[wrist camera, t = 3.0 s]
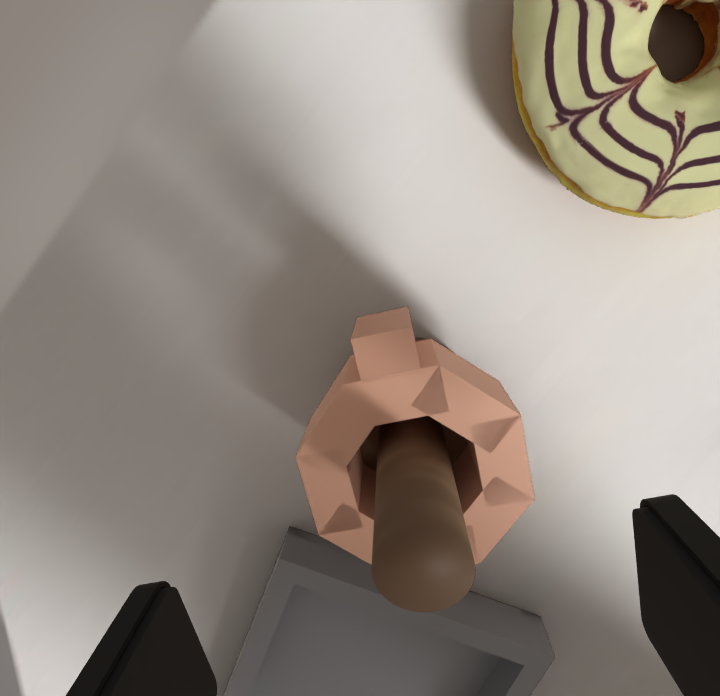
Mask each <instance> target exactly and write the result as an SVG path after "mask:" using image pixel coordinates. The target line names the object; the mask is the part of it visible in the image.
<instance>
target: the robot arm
mask: <svg viewBox="0 0 720 696" xmlns="http://www.w3.org/2000/svg"><path fill="white" fill-rule="evenodd" d="M632 517H633V528H634V539H635V551H636V562H637V573H638V585H639V596H640V607H641V617H642V622H643V626H644V628H645V631H646V633H647V636H648V638H649V639H650V641H651V643H652V644H653V646H654V648H655V649H656V651H657V653H658V654H659V656H660V658H661V659H662V661H663V662H664V664H665V666H666V667H667V669H668V671H669V672H670V674H671V675H672V677H673V679H674V680H675V682H676V684H677V685H678V687H679V689H680V690H681V692H682V693H683V695H684V696H720V537H719V536H718V535H717V534H716V533H715V532H714V531H713V530H712V529H711V528H710V527H709V526H708V525H707V524H706V523H705V522H704V521H703V520H702V519H701V518H700V517H699V516H698V515H697V514H695V513H694V512H693V511H692V510H691V509H690V508H689V507H688V506H687V505H686V504H685V503H684V502H683V501H682V500H681V499H680V498H679V497H678V496H677V495H673V494H671V495H666V496H660V497H654V498H648V499H643V500H641V503H640V508H638V509H634V510H633V512H632ZM216 694H217V683H216V679H215V676H214V674H213V672H212V669H211V667H210V665H209V662H208V660H207V658H206V655H205V653H204V651H203V648H202V646H201V643H200V641H199V639H198V636H197V634H196V632H195V629H194V627H193V625H192V622H191V620H190V618H189V615H188V613H187V611H186V608H185V606H184V604H183V601H182V599H181V597H180V594H179V592H178V590H177V589H176V588H175V587H171V586H170V584H169V583H167V582H166V581H160V582H155V583H149V584H143V585H139V586H137V587H135V588H134V590H133V591H132V592H131V594H130V595H129V597H128V599H127V600H126V602H125V603H124V605H123V606H122V608H121V610H120V611H119V613H118V614H117V616H116V617H115V619H114V621H113V622H112V624H111V625H110V627H109V628H108V630H107V632H106V633H105V635H104V636H103V638H102V639H101V641H100V643H99V644H98V646H97V647H96V649H95V651H94V652H93V654H92V655H91V657H90V658H89V660H88V662H87V663H86V665H85V666H84V668H83V669H82V671H81V673H80V674H79V676H78V677H77V679H76V680H75V682H74V684H73V685H72V687H71V688H70V690H69V691H68V693H67V695H66V696H216Z"/></svg>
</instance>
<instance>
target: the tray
mask: <svg viewBox="0 0 720 696" xmlns="http://www.w3.org/2000/svg"><path fill="white" fill-rule="evenodd" d="M554 658H555V655H554V652H553V649H552V647H551V644H550V641H549V639H548V636H547V633H546V631H545V628H544V625H543V623H542V620H541V617H540V616H537V615H534V614H532V613H529V612H526V611H523V610H521V609H518V608H515V607H512V606H509V605H507V604H504V603H501V602H498V601H496V600H493V599H490V598H487V597H484V596H482V595H479V594H476V593H473V592H471V591H468V593H467V594H466V595H465V596H464V597H463V598H462V599H461V600H460V601H459V602H457V603H456V604H454V605H452V606H451V607H448V608H446V609H443V610H440V611H435V612H413V611H409V610H405V609H402V608H400V607H398V606H396V605H394V604H392V603H391V602H389V601H388V600H387V599H386V598H385V597H384V596H383V595H382V594H381V593H380V592H379V590H378V589H377V587H376V585H375V583H374V580H373V577H372V565H371V564H369V563H367V562H366V561H364V560H362V559H360V558H359V557H357V556H355V555H353V554H351V553H350V552H348V551H346V550H344V549H342V548H341V547H339V546H337V545H335V544H334V543H332V542H330V541H328V540H326V539H323V538H321V537H318V536H315V535H312V534H309V533H307V532H304V531H301V530H298V529H296V528H293V527H289V530H288V532H287V535H286V537H285V540H284V542H283V545H282V548H281V550H280V553H279V555H278V558H277V560H276V563H275V565H274V568H273V570H272V573H271V575H270V578H269V581H268V583H267V586H266V588H265V591H264V593H263V596H262V598H261V601H260V603H259V606H258V608H257V611H256V614H255V616H254V619H253V621H252V624H251V626H250V629H249V631H248V634H247V636H246V639H245V642H244V644H243V647H242V649H241V652H240V654H239V657H238V659H237V662H236V664H235V667H234V669H233V672H232V675H231V677H230V680H229V682H228V685H227V687H226V690H225V692H224V695H223V696H530V695H531V693H532V692H533V690H534V689H535V687H536V686H537V684H538V683H539V681H540V680H541V678H542V677H543V675H544V673H545V672H546V670H547V669H548V667H549V666H550V664H551V663H552V661H553V660H554Z"/></svg>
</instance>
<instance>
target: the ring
mask: <svg viewBox="0 0 720 696" xmlns="http://www.w3.org/2000/svg"><path fill="white" fill-rule="evenodd" d="M351 343H352V347H353V351H354V355H351V356H350V358H349V359H348V361H347V362H346V364H345V365H344V367H343V368H342V370H341V372H340V373H339V375H338V376H337V378H336V379H335V381H334V382H333V384H332V386H331V387H330V389H329V390H328V392H327V393H326V395H325V396H324V398H323V400H322V401H321V403H320V404H319V406H318V407H317V409H316V410H315V412H314V414H313V415H312V417H311V418H310V421H309V423H308V426H307V429H306V431H305V434H304V436H303V439H302V442H301V444H300V447H299V449H298V452H297V455H296V457H295V458H296V461H297V465H298V468H299V471H300V475H301V478H302V481H303V485H304V488H305V491H306V494H307V498H308V501H309V504H310V508H311V511H312V514H313V518H314V521H315V524H316V528H317V531H318V534H319V536H321V537H323V538H325V539H326V540H328V541H330V542H332V543H334V544H335V545H337V546H339V547H341V548H342V549H344V550H346V551H348V552H350V553H351V554H353V555H355V556H357V557H359V558H360V559H362V560H364V561H366V562H367V563H369V564H371V565H372V548H373V529H374V510H375V490H376V471H374V470H372V469H371V468H369V467H367V466H366V465H364V464H363V460H362V456H361V453H360V449H359V448H360V446H361V445H362V443H363V442H364V440H365V439H366V438H367V436H368V435H369V433H370V432H371V430H372V429H373V427H374V426H377V425H382V424H387V423H392V422H398V421H403V420H408V419H413V418H419V417H424V416H430V417H431V418H433V419H435V420H436V421H438V422H440V423H441V424H443V425H445V426H446V427H448V428H450V429H451V430H453V431H455V432H456V433H458V434H460V435H461V436H463V437H465V438H466V439H467V443H468V446H467V447H466V449H465V450H464V451H463V452H462V454H461V455H460V456H459V458H458V459H457V460H456V461H455V463H454V464H453V465H452V471H453V475H454V479H455V483H456V487H457V491H458V496H459V500H460V504H461V508H462V512H463V516H464V520H465V524H466V529H467V533H468V537H469V541H470V545H471V549H472V553H473V558H474V562H475V564H480V563H481V562H482V560H483V559H484V558H485V557H486V556H487V555H488V553H489V552H490V551H491V550H492V549H493V548H494V546H495V545H496V544H497V543H498V542H499V541H500V539H501V538H502V537H503V536H504V535H505V533H506V532H507V531H508V530H509V529H510V528H511V526H512V525H513V524H514V523H515V522H516V521H517V519H518V518H519V517H520V516H521V515H522V514H523V512H524V511H525V510H526V509H527V508H528V507H529V505H530V504H531V503H532V502H533V501H534V493H533V486H532V480H531V474H530V468H529V461H528V455H527V449H526V443H525V437H524V430H523V424H522V418H521V414H520V413H519V411H518V410H517V408H516V407H515V405H514V404H513V402H512V400H511V399H510V397H509V396H508V394H507V393H506V391H505V390H504V388H503V386H502V385H501V383H500V382H499V381H498V380H497V379H495V378H493V377H492V376H490V375H489V374H487V373H485V372H484V371H482V370H481V369H479V368H477V367H476V366H474V365H473V364H471V363H469V362H468V361H466V360H465V359H463V358H461V357H460V356H458V355H456V354H455V353H453V352H452V351H450V350H448V349H447V348H445V347H444V346H442V345H440V344H439V343H437V342H436V341H434V340H432V339H427V340H422V341H417V342H415V337H414V332H413V328H412V323H411V318H410V314H409V309H408V306H407V307H403V308H398V309H393V310H389V311H384V312H380V313H375V314H371V315H366V316H362V317H357V320H356V323H355V327H354V330H353V333H352V336H351Z"/></svg>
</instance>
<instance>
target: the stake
mask: <svg viewBox="0 0 720 696" xmlns="http://www.w3.org/2000/svg"><path fill="white" fill-rule="evenodd" d="M422 340H427V339H422V338H415V342H417V341H422ZM440 345H441V344H440ZM445 348H446V347H445ZM447 349H448V348H447ZM448 350H449V349H448ZM450 351H451V350H450ZM467 446H468V443H467V439H466V438H465V437H463V436H461V435H460V434H458V433H456V432H455V431H453V430H451V429H450V428H448V427H446V426H445V425H443V424H441V423H440V422H438V421H436V420H435V419H433V418H431V417H430V416H424V417H419V418H413V419H408V420H403V421H398V422H392V423H387V424H382V425H377V426H374V427H373V429H372V430H371V432H370V433H369V435H368V436H367V438H366V439H365V440H364V442H363V443H362V445H361V446H360V448H359V449H360V453H361V456H362V460H363V464H364V465H366V466H367V467H369V468H371V469H372V470H374V471H376V490H375V510H374V529H373V548H372V577H373V580H374V583H375V585H376V587H377V589H378V590H379V592H380V593H381V594H382V595H383V596H384V597H385V598H386V599H387V600H388V601H389V602H391V603H392V604H394V605H396V606H398V607H400V608H402V609H405V610H409V611H413V612H435V611H440V610H443V609H446V608H448V607H451V606H452V605H454V604H456V603H457V602H459V601H460V600H461V599H462V598H463V597H464V596H465V595H466V594H467V593H468V591H469V590H470V588H471V586H472V584H473V582H474V578H475V562H474V558H473V553H472V549H471V545H470V541H469V537H468V533H467V529H466V524H465V520H464V516H463V512H462V508H461V504H460V500H459V496H458V491H457V487H456V483H455V479H454V475H453V471H452V465H453V464H454V463H455V461H456V460H457V459H458V458H459V456H460V455H461V454H462V452H463V451H464V450H465V449H466V447H467Z"/></svg>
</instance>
